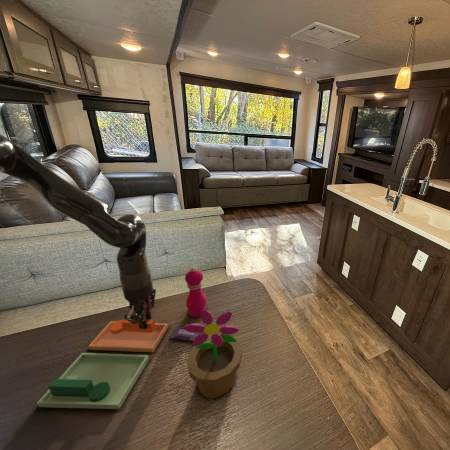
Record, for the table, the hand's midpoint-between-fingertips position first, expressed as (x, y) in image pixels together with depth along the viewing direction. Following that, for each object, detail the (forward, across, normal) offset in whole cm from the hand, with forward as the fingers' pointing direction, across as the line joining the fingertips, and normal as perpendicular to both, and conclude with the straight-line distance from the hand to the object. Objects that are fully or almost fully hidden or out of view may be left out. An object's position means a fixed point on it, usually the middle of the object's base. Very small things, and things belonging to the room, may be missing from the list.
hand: (145, 325), depth 79 cm
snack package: (+7, -2, +13) cm, 15 cm away
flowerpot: (+7, +13, +26) cm, 30 cm away
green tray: (+6, +14, -6) cm, 17 cm away
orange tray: (+6, 0, -6) cm, 8 cm away
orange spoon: (+2, 0, -5) cm, 5 cm away
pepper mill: (+7, -14, +11) cm, 19 cm away
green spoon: (+6, +18, -7) cm, 20 cm away
